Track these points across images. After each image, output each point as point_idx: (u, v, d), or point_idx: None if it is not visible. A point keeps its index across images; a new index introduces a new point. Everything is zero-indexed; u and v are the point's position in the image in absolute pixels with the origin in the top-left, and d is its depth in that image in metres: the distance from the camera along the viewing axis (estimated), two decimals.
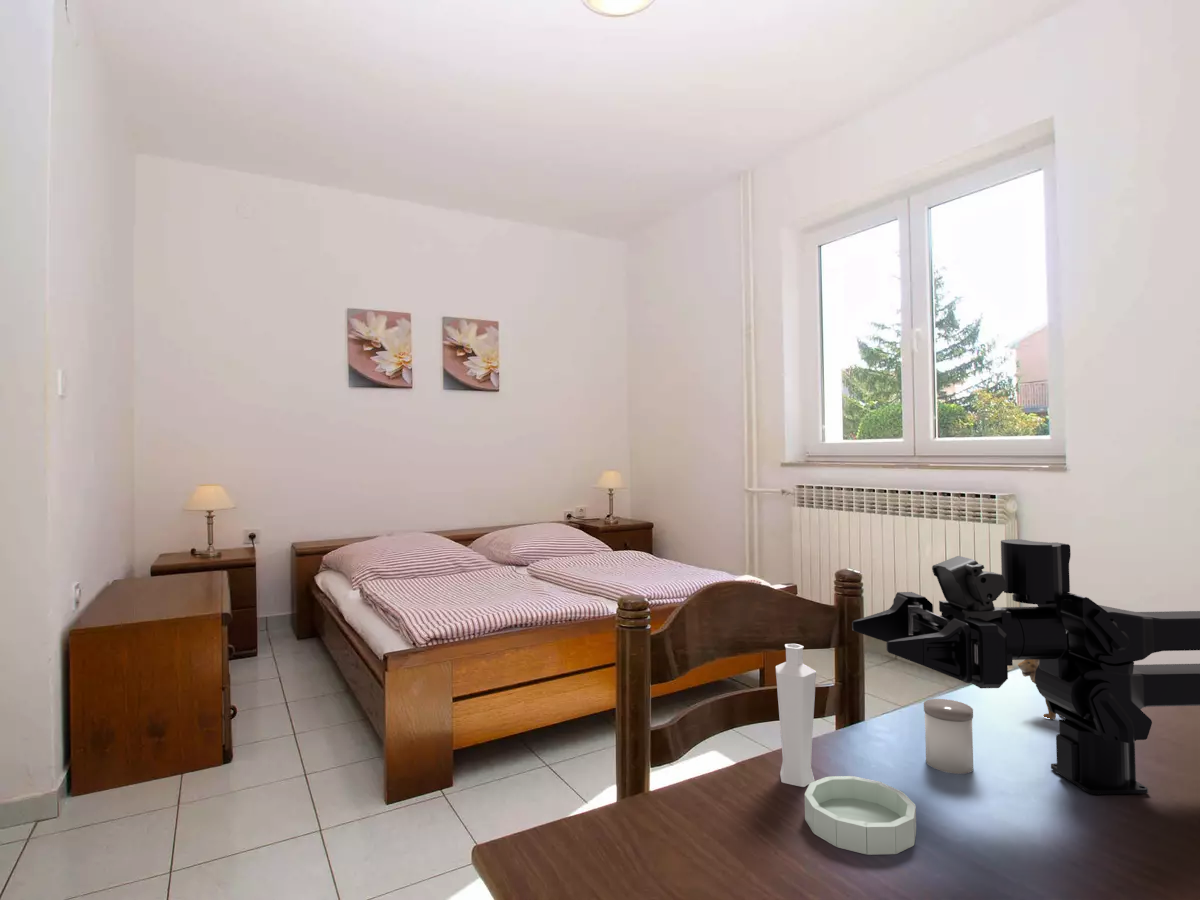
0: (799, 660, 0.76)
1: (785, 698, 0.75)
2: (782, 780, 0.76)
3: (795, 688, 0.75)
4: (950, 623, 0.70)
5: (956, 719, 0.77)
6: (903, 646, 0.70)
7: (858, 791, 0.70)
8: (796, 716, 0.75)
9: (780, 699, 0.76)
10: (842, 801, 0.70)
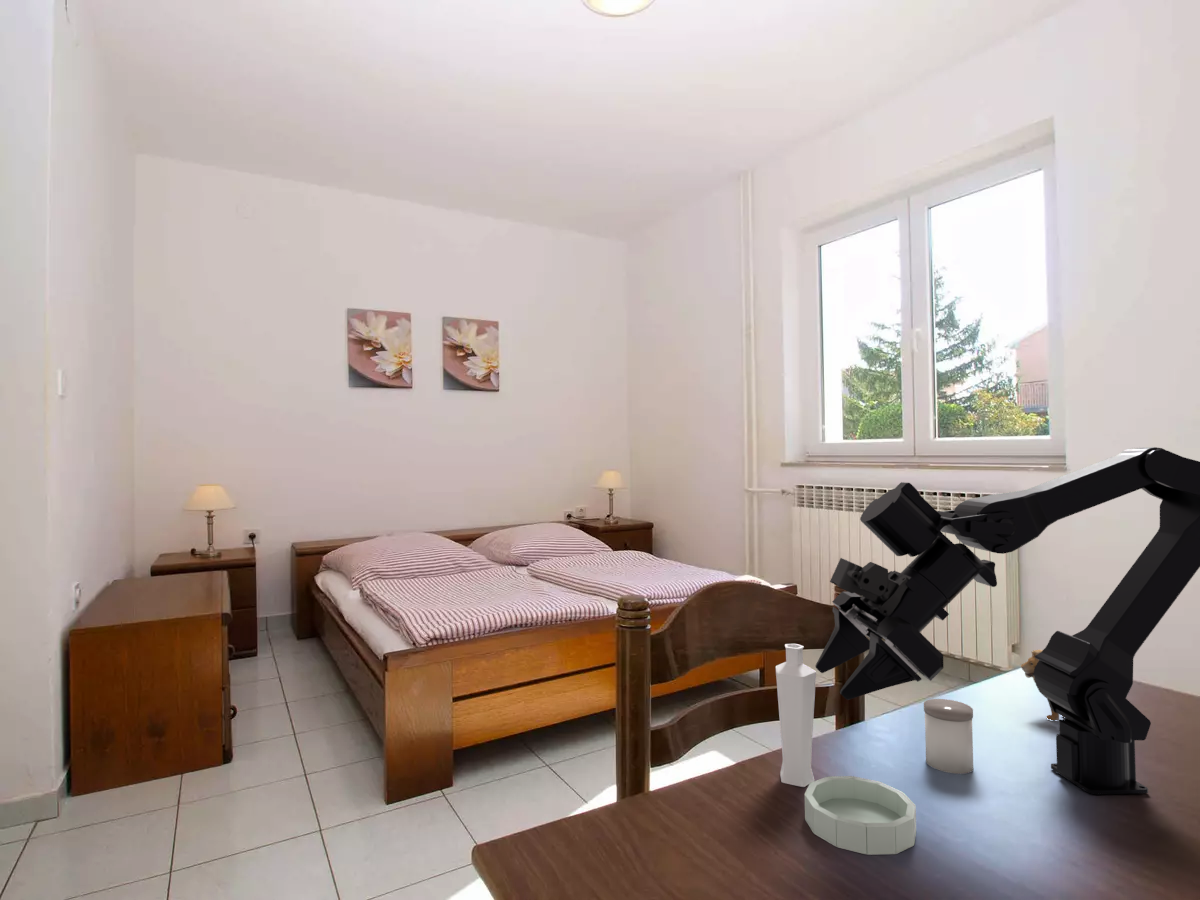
0: (799, 660, 0.76)
1: (785, 698, 0.75)
2: (782, 780, 0.76)
3: (795, 688, 0.75)
4: (870, 639, 0.71)
5: (956, 719, 0.77)
6: (853, 687, 0.71)
7: (858, 791, 0.70)
8: (796, 716, 0.75)
9: (780, 699, 0.76)
10: (842, 801, 0.70)
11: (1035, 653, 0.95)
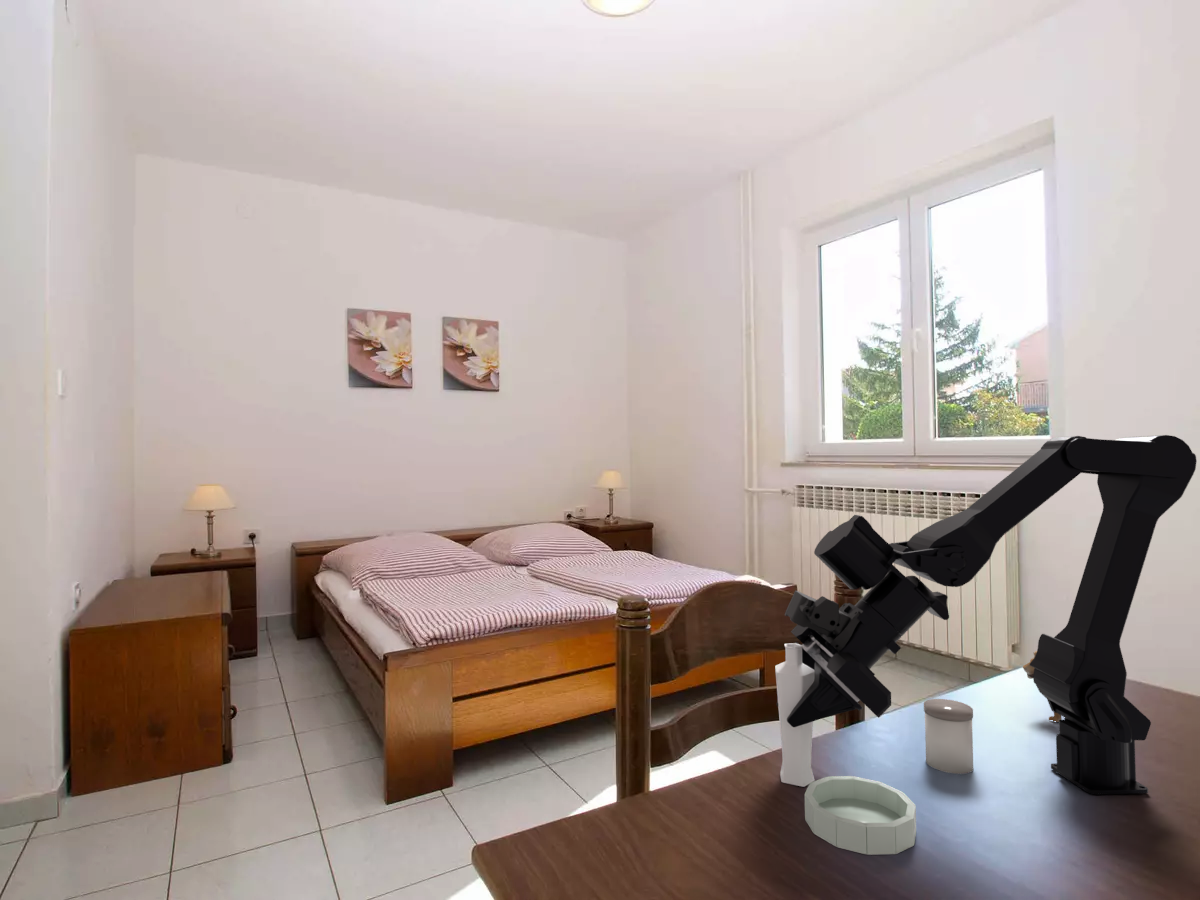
0: (799, 659, 0.76)
1: (785, 697, 0.75)
2: (782, 780, 0.76)
3: (794, 688, 0.75)
4: (815, 669, 0.73)
5: (956, 719, 0.77)
6: (799, 715, 0.73)
7: (858, 791, 0.70)
8: None
9: (780, 698, 0.76)
10: (842, 801, 0.70)
11: None
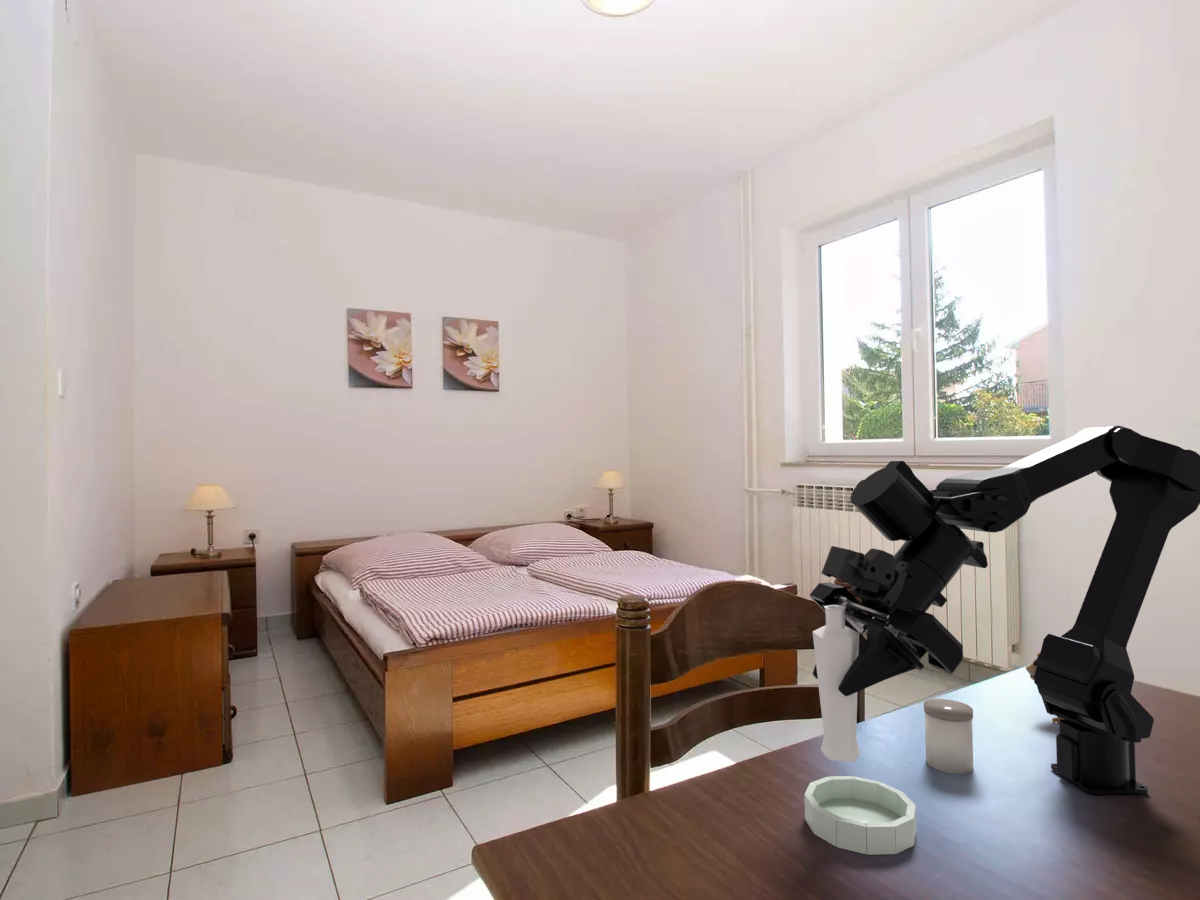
0: (843, 622, 0.69)
1: (832, 665, 0.67)
2: (829, 757, 0.68)
3: (843, 653, 0.67)
4: (868, 629, 0.66)
5: (956, 719, 0.77)
6: (853, 682, 0.66)
7: (858, 791, 0.70)
8: None
9: (826, 667, 0.68)
10: (842, 801, 0.70)
11: None
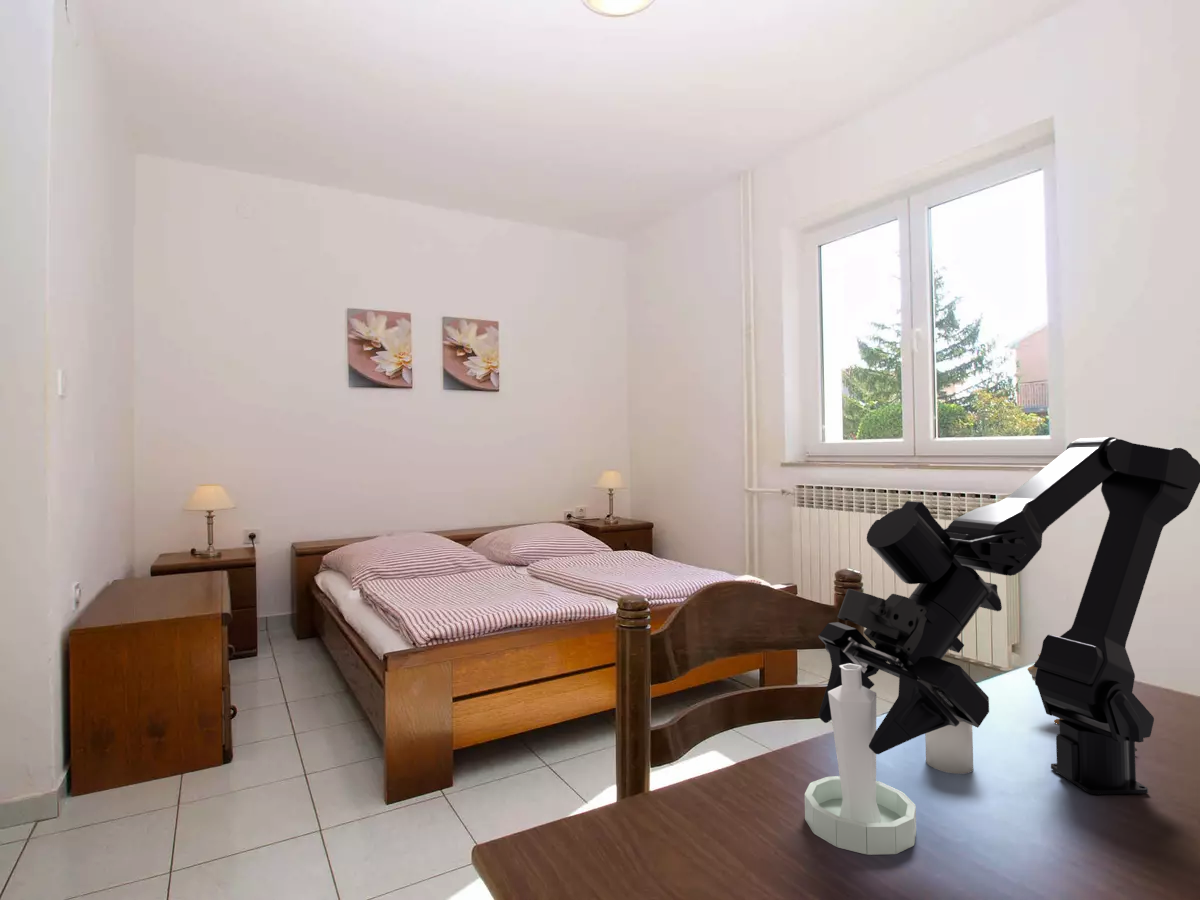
0: (860, 682, 0.66)
1: (851, 729, 0.65)
2: None
3: (861, 716, 0.65)
4: (901, 682, 0.62)
5: None
6: (884, 739, 0.62)
7: None
8: (865, 749, 0.65)
9: (844, 731, 0.65)
10: None
11: None
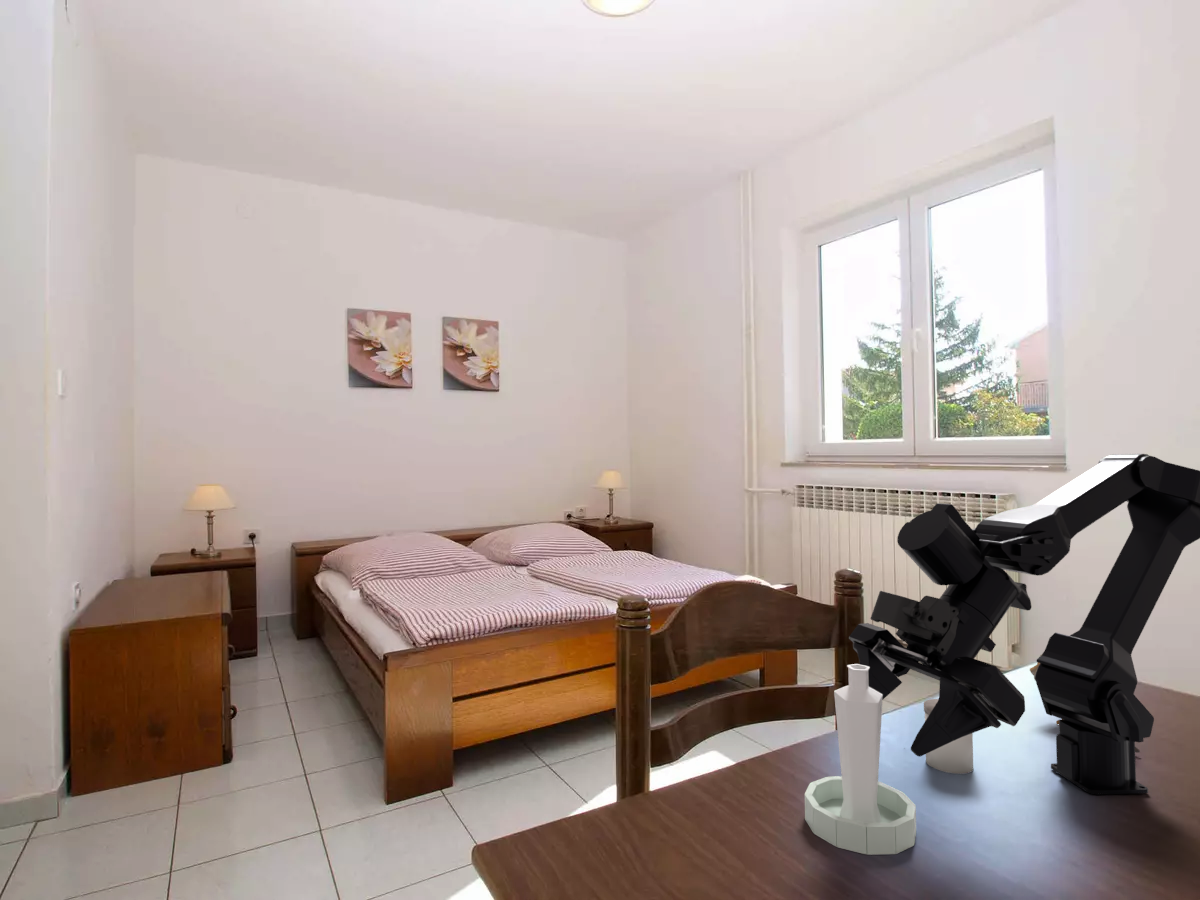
0: (867, 683, 0.66)
1: (856, 728, 0.65)
2: None
3: (867, 717, 0.65)
4: (942, 685, 0.63)
5: None
6: (926, 741, 0.63)
7: None
8: (869, 749, 0.65)
9: (849, 730, 0.65)
10: (842, 801, 0.70)
11: None
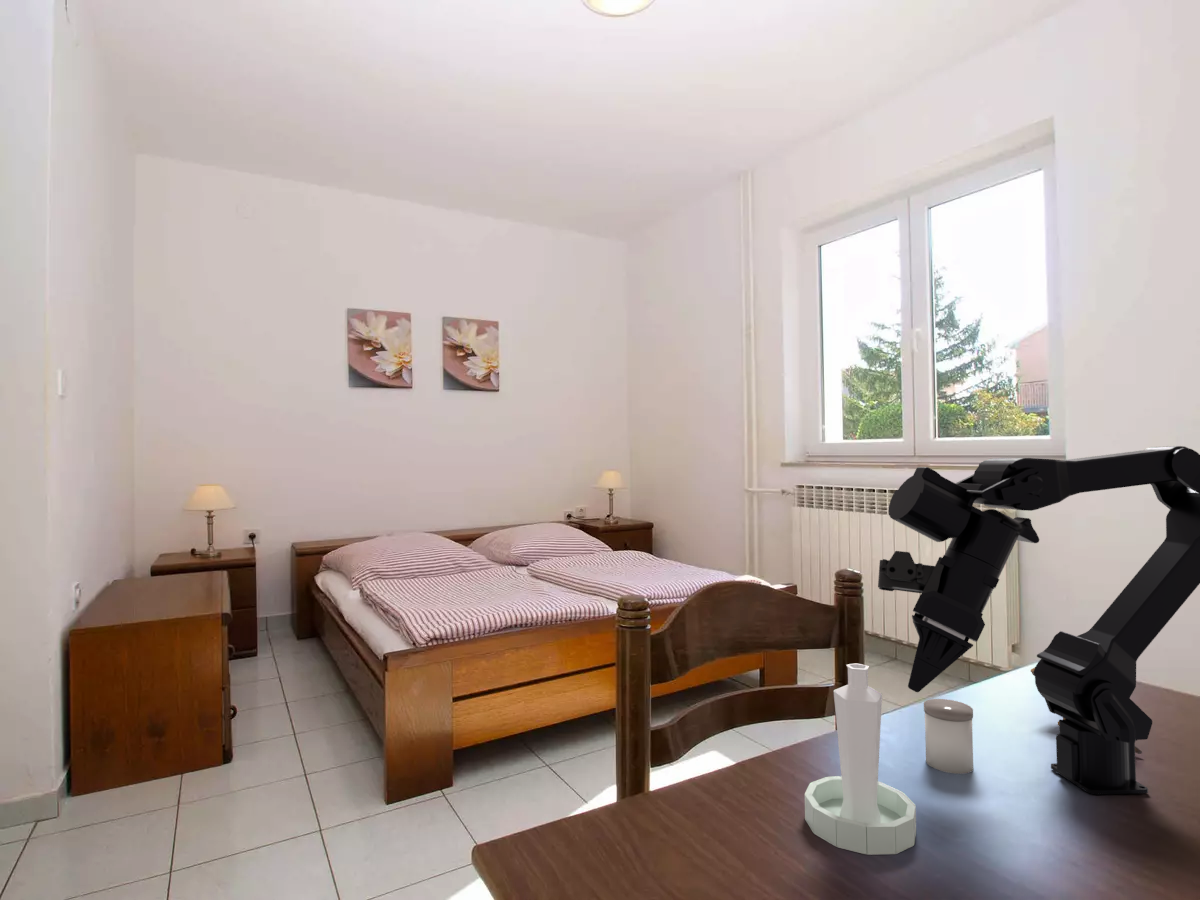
0: (866, 682, 0.66)
1: (855, 727, 0.65)
2: None
3: (867, 716, 0.65)
4: None
5: (956, 719, 0.77)
6: (916, 676, 0.70)
7: None
8: (868, 748, 0.65)
9: (849, 729, 0.65)
10: (842, 801, 0.70)
11: None
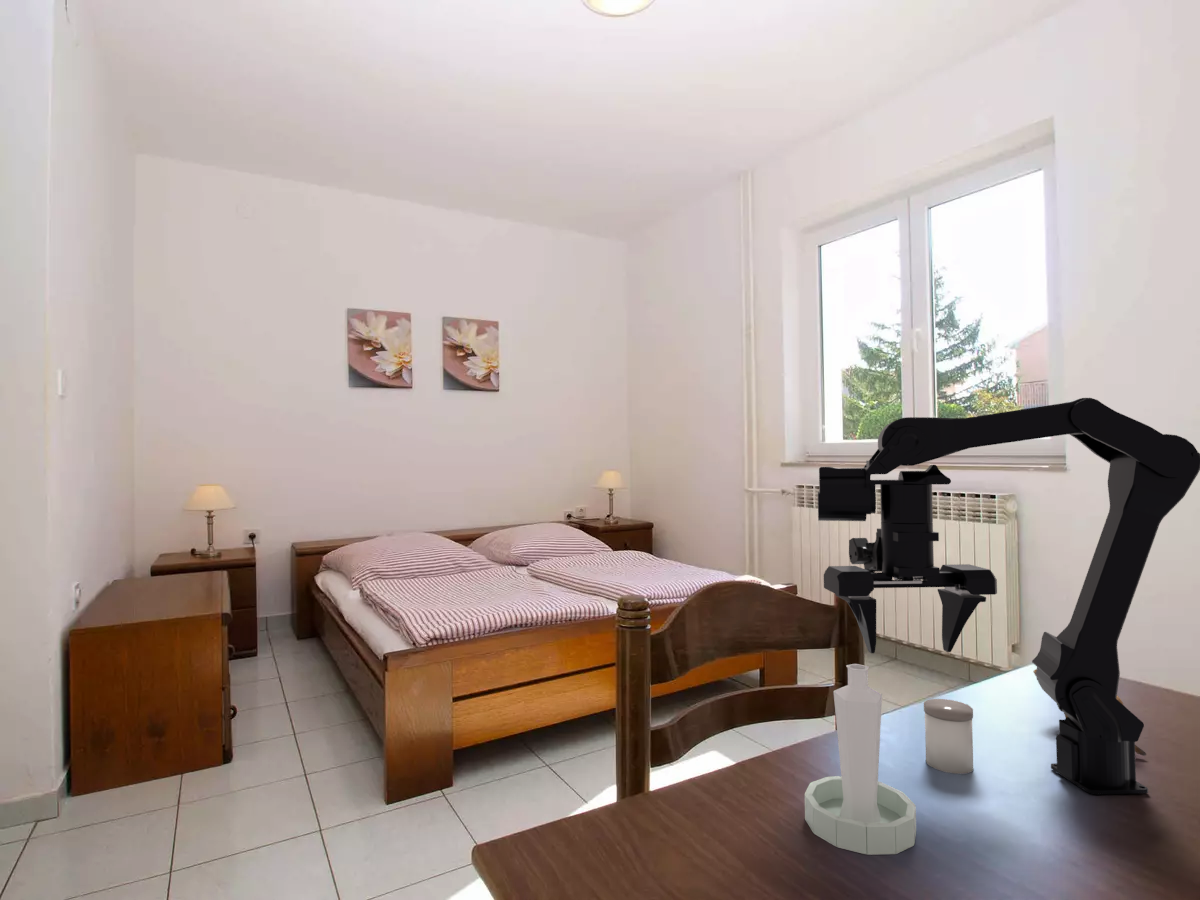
0: (866, 683, 0.66)
1: (855, 728, 0.65)
2: None
3: (867, 716, 0.65)
4: None
5: (956, 719, 0.77)
6: (865, 639, 0.81)
7: None
8: (868, 749, 0.65)
9: (849, 730, 0.65)
10: (842, 801, 0.70)
11: None
